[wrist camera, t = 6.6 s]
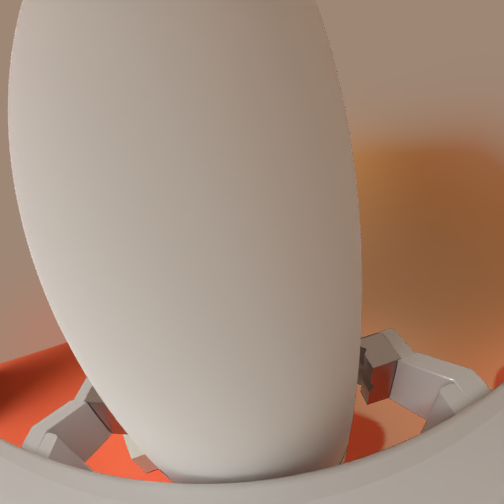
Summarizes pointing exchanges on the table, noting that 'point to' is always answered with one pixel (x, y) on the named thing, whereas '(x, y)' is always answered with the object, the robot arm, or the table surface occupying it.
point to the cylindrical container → (195, 223)
